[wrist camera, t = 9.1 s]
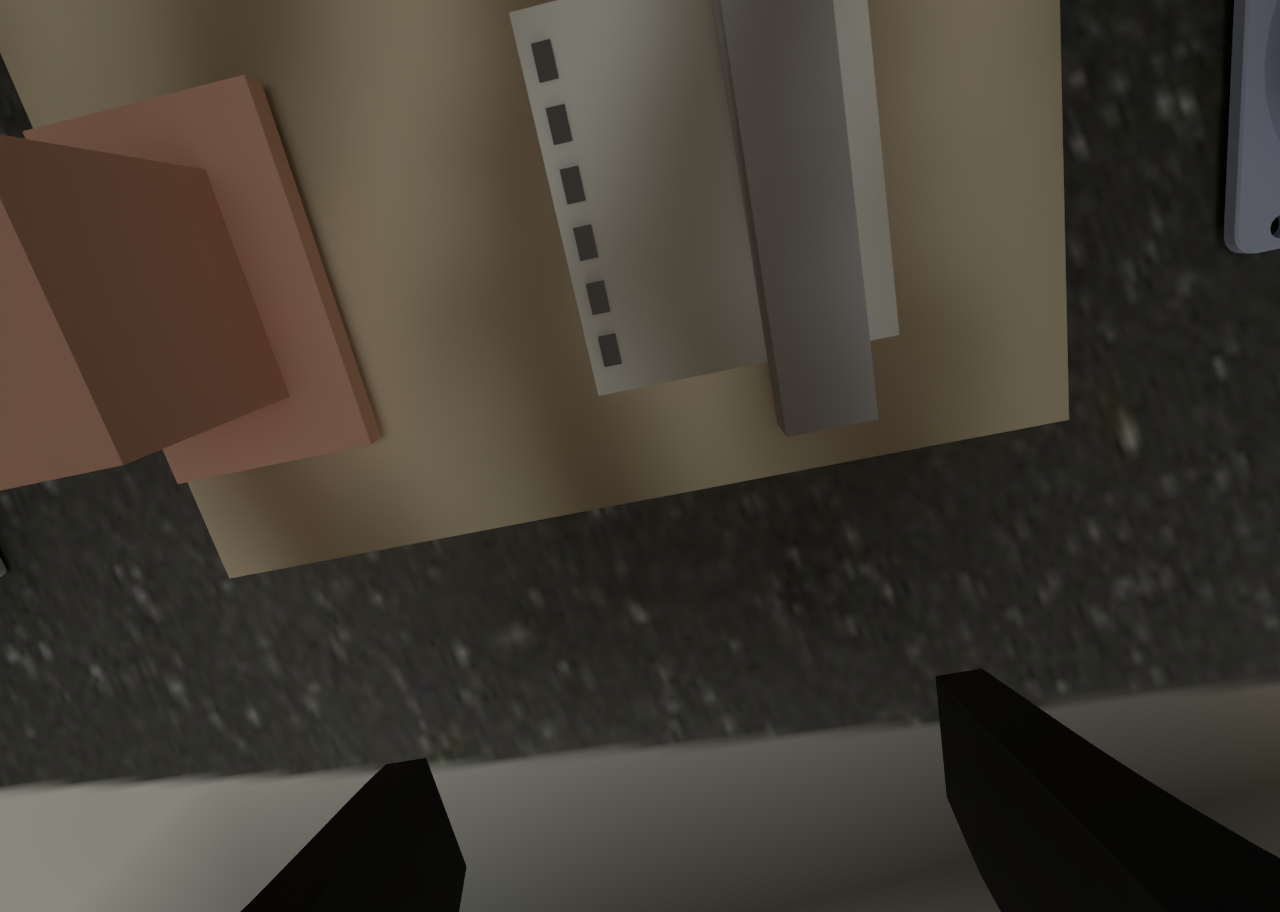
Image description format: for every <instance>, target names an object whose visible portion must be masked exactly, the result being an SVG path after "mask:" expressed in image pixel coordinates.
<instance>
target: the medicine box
mask: <svg viewBox="0 0 1280 912" xmlns="http://www.w3.org/2000/svg"><path fill="white" fill-rule="evenodd" d="M6 572H7V569H6V567H5V565H4V563H3V561H2V560H1V558H0V577H1V576H2V575H4V574H5V573H6Z"/></svg>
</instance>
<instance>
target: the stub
mask: <svg viewBox="0 0 1280 912" xmlns="http://www.w3.org/2000/svg"><path fill="white" fill-rule="evenodd" d="M22 132H23V134H24V136H25V138H26V139H23V138H17V137H11V136H5V135H0V490H5V489H10V488H15V487H20V486H24V485H29V484H34V483H39V482H44V481H48V480H53V479H58V478H63V477H68V476H73V475H77V474H82V473H87V472H92V471H97V470H102V469H106V468H111V467H116V466H121V465H125V464H127V463H129V462H132V461H134V460H137V459H139V458H142V457H144V456H146V455H149V454H151V453H154V452H156V451H159V450H161V449H163V451H164V454H165V456H166V458H167V461H168V463H169V465H170V467H171V470H172V472H173V474H174V476H175V479H176V481H177V483H178V484H180V483H185V482H190V481H195V480H200V479H205V478H210V477H215V476H220V475H225V474H230V473H235V472H240V471H244V470H249V469H254V468H259V467H264V466H269V465H274V464H279V463H284V462H289V461H294V460H299V459H304V458H308V457H313V456H318V455H323V454H328V453H333V452H338V451H343V450H348V449H353V448H358V447H363V446H368V445H372V444H373V443H375V442H376V441H377V440H379V439H380V438H381V435H380V432H379V429H378V426H377V423H376V421H375V418H374V415H373V412H372V409H371V406H370V403H369V400H368V397H367V394H366V391H365V388H364V385H363V382H362V379H361V376H360V373H359V370H358V367H357V364H356V361H355V358H354V355H353V352H352V350H351V347H350V344H349V341H348V338H347V335H346V332H345V329H344V326H343V323H342V320H341V317H340V314H339V311H338V308H337V305H336V302H335V299H334V296H333V293H332V290H331V287H330V284H329V281H328V279H327V276H326V273H325V270H324V267H323V264H322V261H321V258H320V255H319V252H318V249H317V246H316V243H315V240H314V237H313V234H312V231H311V228H310V225H309V222H308V219H307V216H306V213H305V210H304V208H303V205H302V202H301V199H300V196H299V193H298V190H297V187H296V184H295V181H294V178H293V175H292V172H291V169H290V166H289V163H288V160H287V157H286V154H285V151H284V148H283V145H282V142H281V139H280V136H279V134H278V131H277V128H276V125H275V122H274V119H273V116H272V113H271V110H270V107H269V104H268V101H267V98H266V95H265V92H264V89H263V86H262V83H261V81H259V80H256V79H254V78H251V77H249V76H247V75H241V76H237V77H233V78H229V79H225V80H221V81H217V82H213V83H209V84H205V85H202V86H198V87H194V88H190V89H186V90H182V91H178V92H174V93H170V94H166V95H163V96H159V97H155V98H151V99H147V100H143V101H139V102H135V103H131V104H128V105H124V106H120V107H116V108H112V109H108V110H104V111H100V112H96V113H92V114H89V115H85V116H81V117H77V118H73V119H69V120H65V121H61V122H57V123H53V124H50V125H46V126H42V127H38V128H34V129H30V130H26V131H22Z"/></svg>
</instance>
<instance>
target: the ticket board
mask: <svg viewBox="0 0 1280 912" xmlns="http://www.w3.org/2000/svg"><path fill="white" fill-rule="evenodd" d="M0 53H1V55H2V58H3V60H4V62H5V64H6V67H7V69H8V71H9V74H10V76H11V78H12V81H13V83H14V85H15V87H16V90H17V92H18V94H19V97H20V99H21V101H22V103H23V106H24V108H25V110H26V113H27V115H28V117H29V120H30V122H31V124H32V126H33V129H34V128H38V127H42V126H46V125H50V124H53V123H57V122H61V121H65V120H69V119H73V118H77V117H81V116H85V115H89V114H92V113H96V112H100V111H104V110H108V109H112V108H116V107H120V106H124V105H128V104H131V103H135V102H139V101H143V100H147V99H151V98H155V97H159V96H163V95H166V94H170V93H174V92H178V91H182V90H186V89H190V88H194V87H198V86H202V85H205V84H209V83H213V82H217V81H221V80H225V79H229V78H233V77H237V76H241V75H247V76H249V77H251V78H254V79H256V80H259V81H261V83H262V86H263V89H264V92H265V95H266V98H267V101H268V104H269V107H270V110H271V113H272V116H273V119H274V122H275V125H276V128H277V131H278V134H279V136H280V139H281V142H282V145H283V148H284V151H285V154H286V157H287V160H288V163H289V166H290V169H291V172H292V175H293V178H294V181H295V184H296V187H297V190H298V193H299V196H300V199H301V202H302V205H303V208H304V210H305V213H306V216H307V219H308V222H309V225H310V228H311V231H312V234H313V237H314V240H315V243H316V246H317V249H318V252H319V255H320V258H321V261H322V264H323V267H324V270H325V273H326V276H327V279H328V281H329V284H330V287H331V290H332V293H333V296H334V299H335V302H336V305H337V308H338V311H339V314H340V317H341V320H342V323H343V326H344V329H345V332H346V335H347V338H348V341H349V344H350V347H351V350H352V352H353V355H354V358H355V361H356V364H357V367H358V370H359V373H360V376H361V379H362V382H363V385H364V388H365V391H366V394H367V397H368V400H369V403H370V406H371V409H372V412H373V415H374V418H375V421H376V423H377V426H378V429H379V432H380V435H381V438H380V439H379V440H377V441H376V442H375V443H373V444H372V445H368V446H363V447H358V448H353V449H348V450H343V451H338V452H333V453H328V454H323V455H318V456H313V457H308V458H304V459H299V460H294V461H289V462H284V463H279V464H274V465H269V466H264V467H259V468H254V469H249V470H244V471H240V472H235V473H230V474H225V475H220V476H215V477H210V478H205V479H200V480H195V481H190V482H188V484H189V487H190V489H191V491H192V494H193V496H194V498H195V500H196V503H197V505H198V507H199V510H200V512H201V514H202V517H203V519H204V521H205V523H206V526H207V528H208V530H209V533H210V535H211V537H212V539H213V542H214V544H215V546H216V549H217V551H218V553H219V556H220V558H221V560H222V562H223V565H224V567H225V569H226V572H227V574H228V576H229V578H234V577H239V576H245V575H250V574H255V573H261V572H266V571H271V570H277V569H282V568H287V567H292V566H298V565H303V564H308V563H314V562H319V561H324V560H329V559H335V558H340V557H345V556H351V555H356V554H361V553H366V552H372V551H377V550H382V549H388V548H393V547H398V546H404V545H409V544H414V543H419V542H425V541H430V540H435V539H441V538H446V537H451V536H456V535H462V534H467V533H472V532H478V531H483V530H488V529H493V528H499V527H504V526H509V525H515V524H520V523H525V522H531V521H536V520H541V519H546V518H552V517H557V516H562V515H568V514H573V513H578V512H583V511H589V510H594V509H599V508H605V507H610V506H615V505H620V504H626V503H631V502H636V501H642V500H647V499H652V498H658V497H663V496H668V495H673V494H679V493H684V492H689V491H695V490H700V489H705V488H710V487H716V486H721V485H726V484H732V483H737V482H742V481H747V480H753V479H758V478H763V477H769V476H774V475H779V474H785V473H790V472H795V471H800V470H806V469H811V468H816V467H822V466H827V465H832V464H837V463H843V462H848V461H853V460H859V459H864V458H869V457H874V456H880V455H885V454H890V453H896V452H901V451H906V450H912V449H917V448H922V447H927V446H933V445H938V444H943V443H949V442H954V441H959V440H964V439H970V438H975V437H980V436H986V435H991V434H996V433H1001V432H1007V431H1012V430H1017V429H1023V428H1028V427H1033V426H1039V425H1044V424H1049V423H1054V422H1060V421H1065V420H1069V396H1068V351H1067V306H1066V261H1065V216H1064V171H1063V126H1062V81H1061V36H1060V0H0Z"/></svg>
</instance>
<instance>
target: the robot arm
mask: <svg viewBox="0 0 1280 912" xmlns="http://www.w3.org/2000/svg"><path fill="white" fill-rule="evenodd" d="M1276 217H1277V218H1278V220H1279V227H1278V230H1277V231H1276V232H1275V233H1274V235H1271V231H1270V227H1271V224H1272V222H1273V220H1274V219H1275V218H1276ZM1224 240H1225V244H1226V246H1227V247H1228V248H1229V250H1231V251H1233V252H1235V253H1260V252H1265V251H1269V250H1274V249H1279V248H1280V0H1234V16H1233V39H1232V61H1231V84H1230V106H1229V129H1228V151H1227V174H1226V196H1225V219H1224ZM936 686H937V697H938V708H939V718H940V729H941V740H942V750H943V761H944V772H945V782H946V793H947V798H948V801H949V803H950V805H951V808H952V810H953V812H954V815H955V817H956V819H957V822H958V824H959V826H960V829H961V831H962V833H963V836H964V838H965V840H966V843H967V845H968V847H969V849H970V851H971V854H972V856H973V858H974V861H975V863H976V865H977V867H978V870H979V872H980V874H981V876H982V878H983V880H984V882H985V883H986V885H987V887H988V889H989V891H990V893H991V894H992V896H993V898H994V900H995V902H996V903H997V905H998V907H999V909H1000V910H1001V912H1280V858H1278V857H1277V856H1275V855H1273V854H1271V853H1269V852H1268V851H1266V850H1263V849H1262V848H1260V847H1259V846H1257V845H1255V844H1253V843H1251V842H1250V841H1248V840H1246V839H1245V838H1243V837H1241V836H1240V835H1238V834H1236V833H1235V832H1233V831H1231V830H1229V829H1228V828H1226V827H1224V826H1223V825H1221V824H1219V823H1217V822H1216V821H1214V820H1212V819H1211V818H1209V817H1207V816H1206V815H1204V814H1202V813H1201V812H1199V811H1197V810H1196V809H1194V808H1192V807H1190V806H1189V805H1187V804H1185V803H1184V802H1182V801H1180V800H1179V799H1177V798H1176V797H1174V796H1172V795H1171V794H1169V793H1167V792H1166V791H1164V790H1163V789H1161V788H1159V787H1158V786H1156V785H1154V784H1153V783H1151V782H1150V781H1148V780H1146V779H1145V778H1143V777H1142V776H1140V775H1139V774H1137V773H1136V772H1134V771H1132V770H1131V769H1129V768H1128V767H1126V766H1125V765H1123V764H1122V763H1120V762H1119V761H1117V760H1115V759H1114V758H1112V757H1111V756H1109V755H1108V754H1106V753H1104V752H1103V751H1102V750H1100V749H1098V748H1097V747H1096V746H1094V745H1093V744H1091V743H1089V742H1088V741H1087V740H1085V739H1084V738H1082V737H1081V736H1079V735H1077V734H1076V733H1074V732H1073V731H1072V730H1070V729H1069V728H1067V727H1066V726H1064V725H1063V724H1062V723H1060V722H1059V721H1057V720H1056V719H1054V718H1052V717H1051V716H1050V715H1048V714H1047V713H1045V712H1044V711H1043V710H1041V709H1040V708H1038V707H1037V706H1035V705H1034V704H1032V703H1031V702H1030V701H1028V700H1027V699H1025V698H1024V697H1022V696H1021V695H1019V694H1018V693H1017V692H1015V691H1014V690H1012V689H1011V688H1009V687H1008V686H1006V685H1005V684H1004V683H1002V682H1001V681H999V680H998V679H996V678H995V677H993V676H992V675H990V674H989V673H987V672H986V671H984V670H983V669H978V670H971V671H965V672H959V673H953V674H946V675H940V676H936ZM465 872H466V864H465V861H464V859H463V856H462V853H461V851H460V848H459V845H458V843H457V840H456V837H455V835H454V832H453V829H452V826H451V824H450V821H449V818H448V816H447V813H446V811H445V808H444V805H443V802H442V800H441V797H440V794H439V792H438V789H437V786H436V783H435V781H434V778H433V775H432V773H431V770H430V767H429V765H428V762H427V759H426V758H423V759H417V760H411V761H404V762H398V763H392V764H386V765H385V766H384V767H383V768H382V769H381V770H380V771H378V772H377V773H376V774H375V775H374V776H373V777H372V778H371V779H370V780H369V781H368V782H367V783H366V784H365V785H364V786H363V787H362V788H361V789H360V790H359V791H358V792H357V793H356V794H355V795H354V796H353V797H352V798H351V799H350V800H349V801H348V802H347V803H346V804H345V805H344V806H343V807H342V809H340V810H339V812H338V813H337V814H336V815H335V816H334V817H333V818H332V819H331V820H330V821H329V822H328V823H327V824H326V825H325V826H324V827H323V828H322V829H321V830H320V831H319V832H318V834H316V836H315V837H314V838H313V839H312V840H311V841H310V842H309V843H308V844H307V845H306V846H305V847H304V848H303V849H302V850H301V851H300V852H299V853H298V854H297V855H296V856H295V857H294V858H293V859H292V860H291V861H290V862H289V863H288V864H287V865H286V866H285V867H284V869H283V870H281V871H280V872H279V873H278V875H277V876H276V877H275V878H274V879H273V880H272V881H271V882H270V883H269V884H268V885H267V886H266V887H265V888H264V889H263V890H262V891H261V892H260V893H259V894H258V895H257V896H256V897H255V898H254V899H253V900H252V901H251V902H250V903H249V904H248V905H247V906H246V907H245V908H244V909H243V910H242V911H241V912H459V909H460V902H461V897H462V890H463V884H464V878H465Z"/></svg>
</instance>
